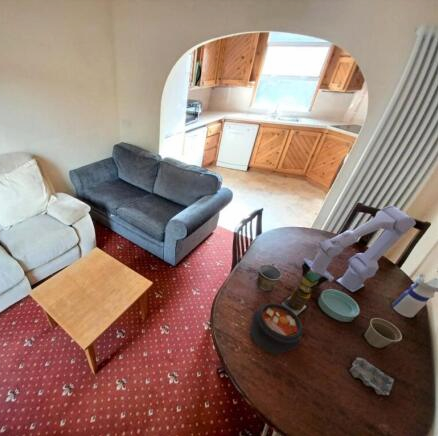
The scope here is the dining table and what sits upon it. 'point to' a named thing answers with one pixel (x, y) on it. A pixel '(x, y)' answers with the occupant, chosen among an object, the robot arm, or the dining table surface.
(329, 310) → the bowl
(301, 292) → the condiment
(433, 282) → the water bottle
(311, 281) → the sponge
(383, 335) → the flower pot
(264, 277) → the ceramic cup
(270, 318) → the casserole
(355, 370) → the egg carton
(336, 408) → the dining table surface
